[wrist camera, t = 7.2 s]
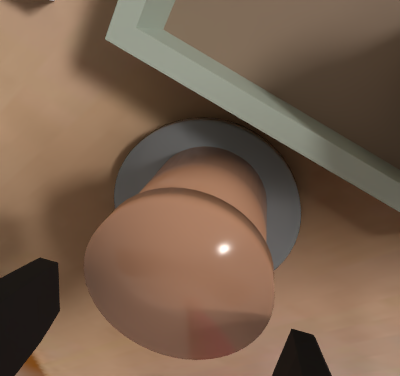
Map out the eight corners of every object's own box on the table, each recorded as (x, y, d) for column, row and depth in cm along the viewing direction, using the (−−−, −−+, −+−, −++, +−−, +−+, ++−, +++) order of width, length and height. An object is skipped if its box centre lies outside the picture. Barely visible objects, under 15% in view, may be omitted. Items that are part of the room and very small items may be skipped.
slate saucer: (341, 182, 15) (344, 190, 14) (237, 305, 19) (236, 316, 18) (164, 79, 14) (158, 81, 13) (97, 227, 18) (90, 235, 17)
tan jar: (254, 267, 16) (247, 379, 11) (141, 237, 17) (82, 330, 11) (289, 158, 14) (301, 234, 8) (154, 127, 14) (85, 179, 9)
